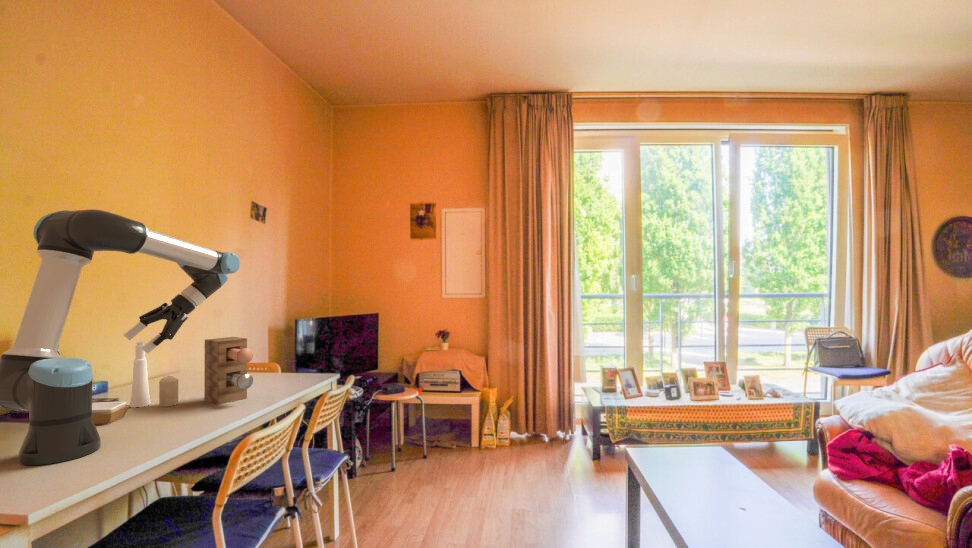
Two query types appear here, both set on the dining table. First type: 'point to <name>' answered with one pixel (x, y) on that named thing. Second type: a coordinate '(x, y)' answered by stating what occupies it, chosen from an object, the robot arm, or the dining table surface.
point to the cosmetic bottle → (140, 379)
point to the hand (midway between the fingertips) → (135, 344)
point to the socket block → (223, 370)
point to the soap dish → (108, 411)
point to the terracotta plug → (239, 354)
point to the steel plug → (239, 380)
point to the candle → (168, 391)
